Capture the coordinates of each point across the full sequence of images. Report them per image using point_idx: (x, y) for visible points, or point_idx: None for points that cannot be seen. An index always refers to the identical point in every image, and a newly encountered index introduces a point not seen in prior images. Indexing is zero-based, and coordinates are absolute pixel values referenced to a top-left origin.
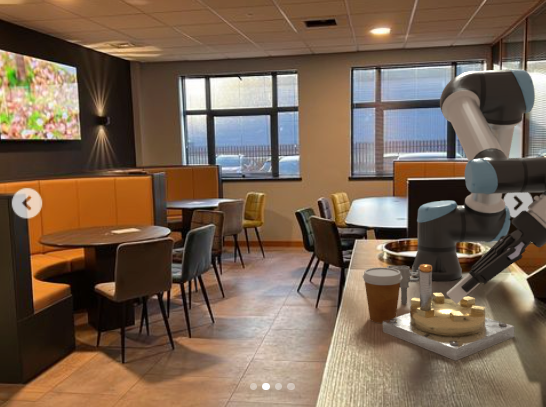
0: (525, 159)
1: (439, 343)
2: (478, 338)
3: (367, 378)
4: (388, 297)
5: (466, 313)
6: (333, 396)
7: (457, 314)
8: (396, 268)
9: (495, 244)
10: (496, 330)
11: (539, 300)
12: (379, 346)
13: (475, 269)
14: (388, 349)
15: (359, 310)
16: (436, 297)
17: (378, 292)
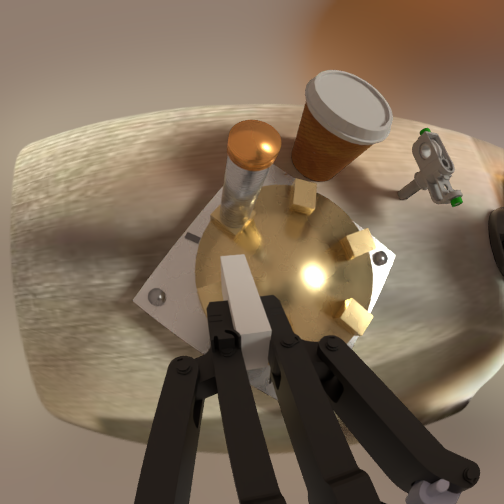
0: None
1: (158, 266)
2: (206, 349)
3: (61, 174)
4: (309, 137)
5: None
6: (26, 153)
7: (207, 298)
8: (433, 147)
9: (434, 451)
10: (269, 386)
11: (464, 407)
12: (176, 165)
13: (278, 358)
14: (165, 181)
15: None
16: (345, 238)
17: (304, 113)
